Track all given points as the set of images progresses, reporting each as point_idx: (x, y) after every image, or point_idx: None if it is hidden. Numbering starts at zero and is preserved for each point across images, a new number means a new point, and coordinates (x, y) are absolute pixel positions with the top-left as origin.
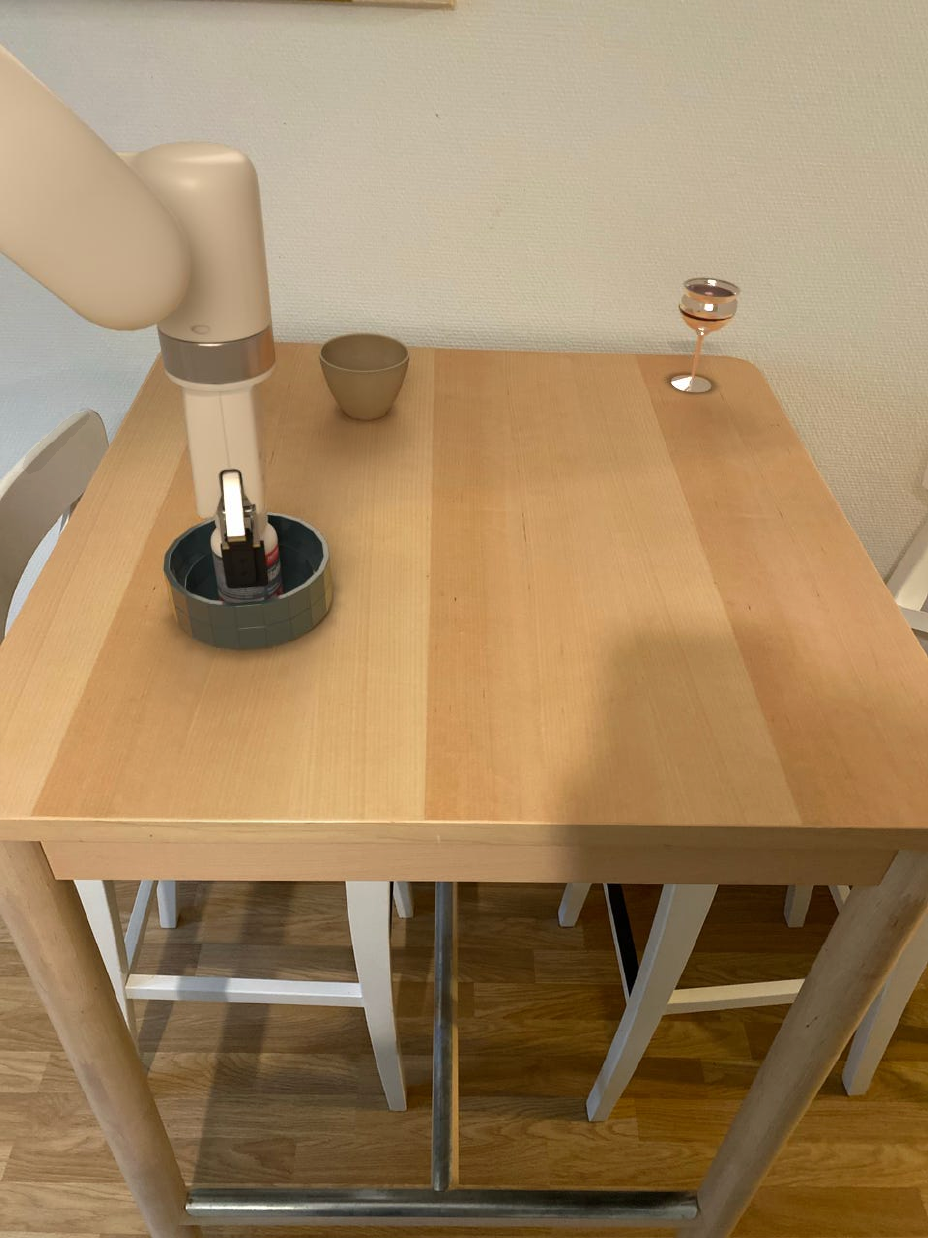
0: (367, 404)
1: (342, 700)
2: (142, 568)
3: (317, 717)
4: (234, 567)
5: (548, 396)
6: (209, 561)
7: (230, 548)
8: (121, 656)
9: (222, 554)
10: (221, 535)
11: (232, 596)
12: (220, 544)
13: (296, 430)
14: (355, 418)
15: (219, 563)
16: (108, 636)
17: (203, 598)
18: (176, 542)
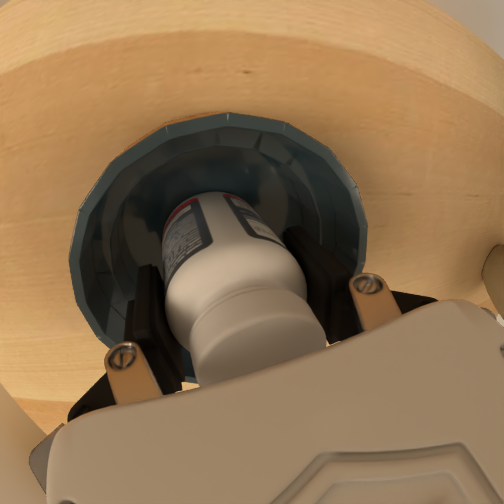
0: (492, 280)
1: (72, 355)
2: (299, 48)
3: (44, 339)
4: (125, 325)
5: None
6: (283, 166)
7: (98, 381)
8: (74, 78)
9: (134, 318)
10: (111, 384)
11: (164, 243)
12: (143, 330)
13: (492, 212)
14: (487, 258)
15: (174, 261)
16: (119, 40)
17: (79, 247)
18: (275, 129)
